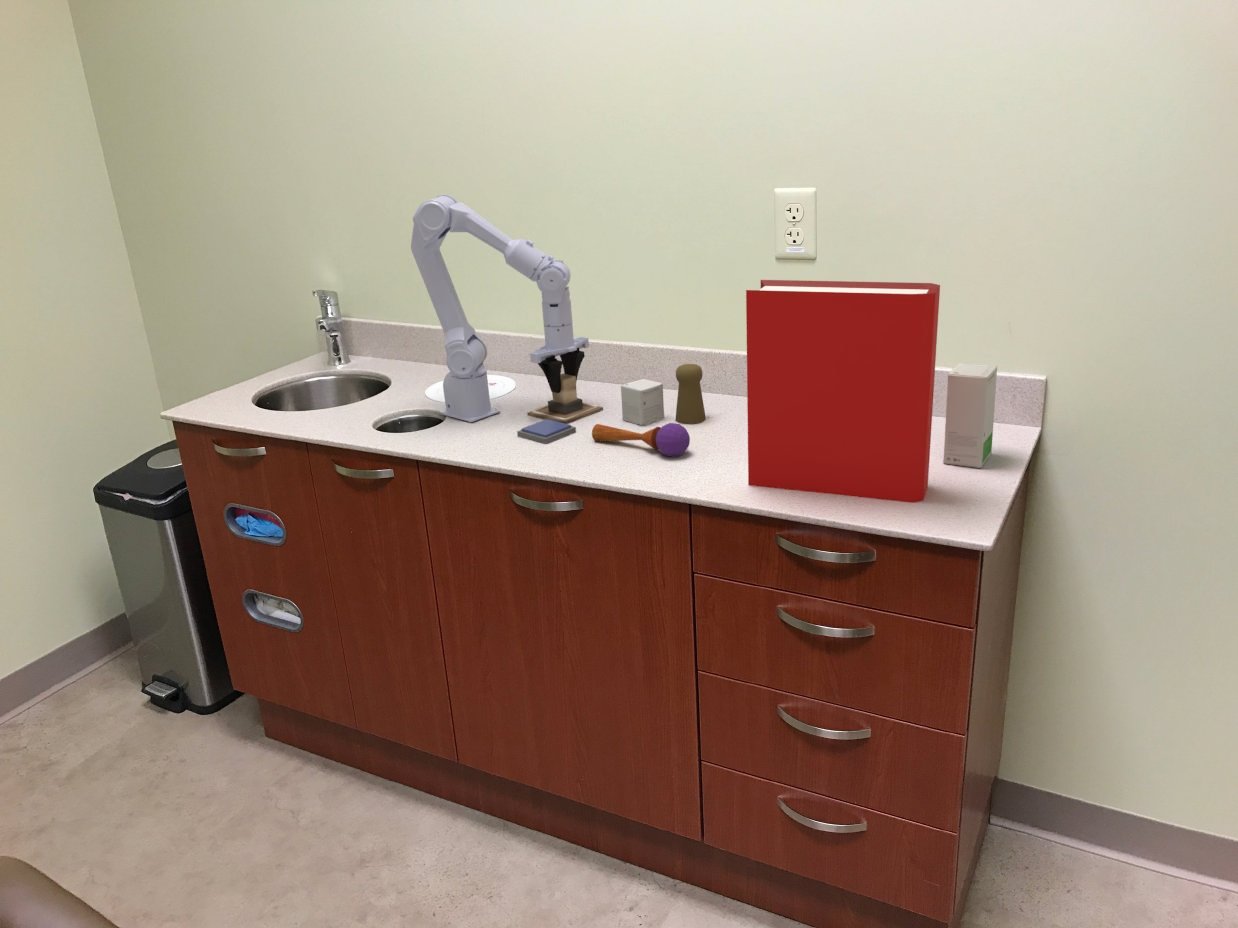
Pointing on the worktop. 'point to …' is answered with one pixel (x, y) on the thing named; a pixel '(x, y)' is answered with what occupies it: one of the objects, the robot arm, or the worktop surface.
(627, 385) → the skincare box
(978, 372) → the skincare box
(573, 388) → the stamp
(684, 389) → the cork
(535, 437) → the ink pad
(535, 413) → the board
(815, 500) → the worktop surface
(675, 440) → the purple maraca
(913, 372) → the book
